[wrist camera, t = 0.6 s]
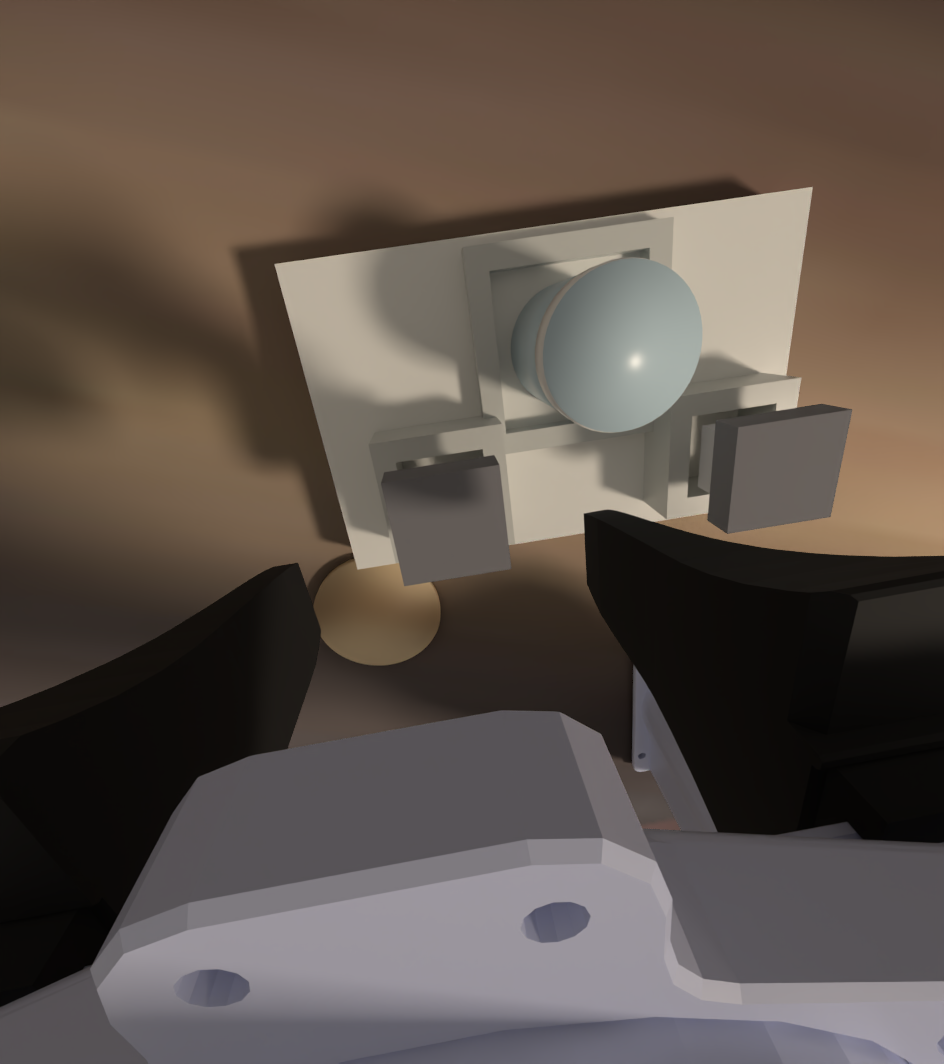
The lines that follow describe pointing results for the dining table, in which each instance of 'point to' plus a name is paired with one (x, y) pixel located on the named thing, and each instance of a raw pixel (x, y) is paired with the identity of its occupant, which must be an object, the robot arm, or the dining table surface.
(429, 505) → the plunger
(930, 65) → the dining table surface
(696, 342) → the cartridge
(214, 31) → the dining table surface
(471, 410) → the housing
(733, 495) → the plunger
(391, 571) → the coaster
